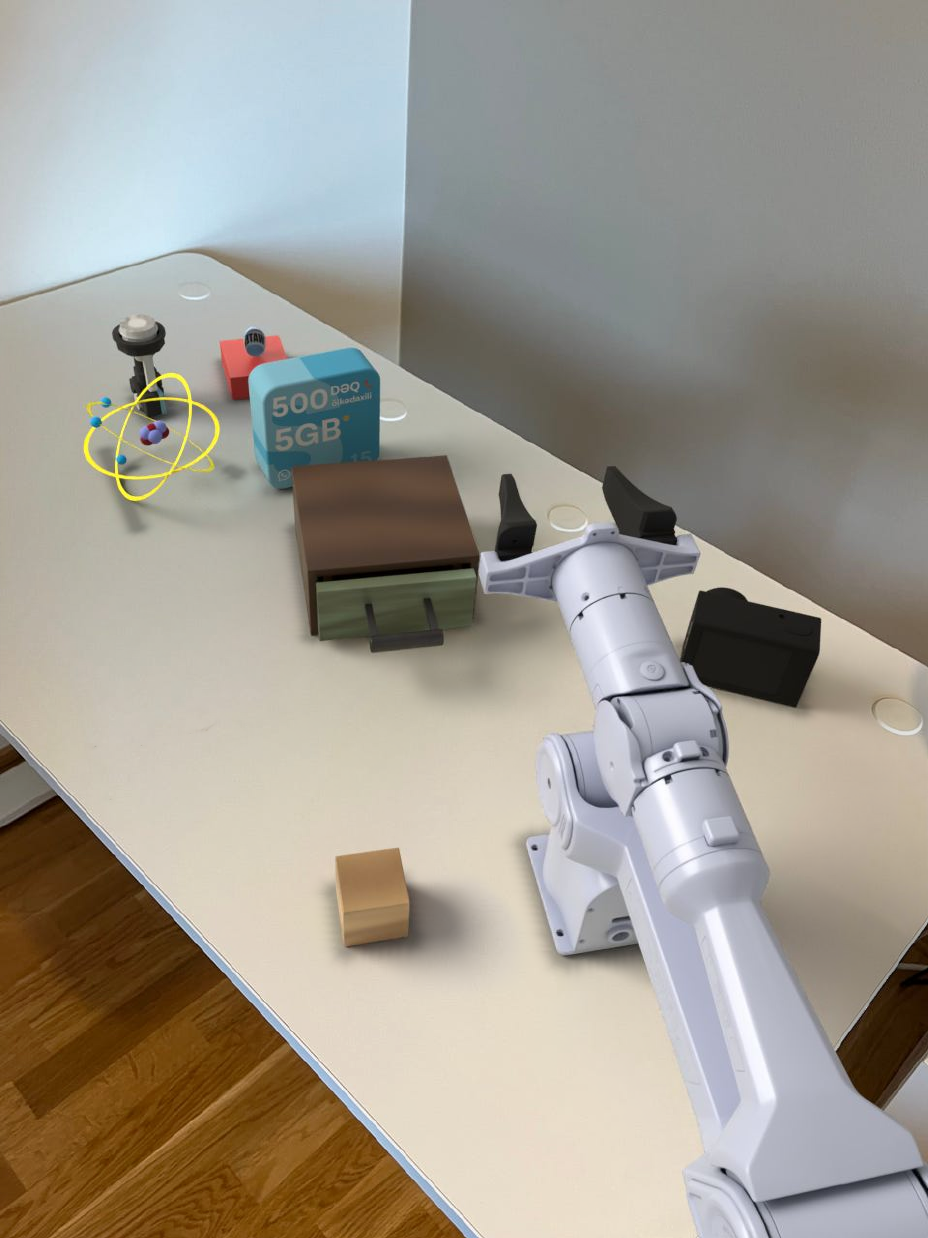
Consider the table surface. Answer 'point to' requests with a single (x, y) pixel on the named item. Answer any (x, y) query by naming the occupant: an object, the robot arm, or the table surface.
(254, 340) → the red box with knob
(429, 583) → the drawer
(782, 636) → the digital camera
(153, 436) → the atom model
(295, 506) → the cabinet
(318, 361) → the data package
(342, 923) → the block
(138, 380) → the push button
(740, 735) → the table surface
